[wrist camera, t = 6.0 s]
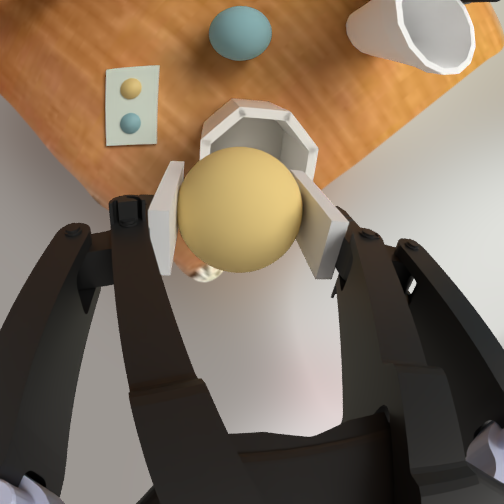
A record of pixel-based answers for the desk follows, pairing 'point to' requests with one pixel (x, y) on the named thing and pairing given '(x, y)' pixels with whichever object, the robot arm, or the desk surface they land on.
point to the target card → (132, 105)
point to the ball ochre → (239, 209)
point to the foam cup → (415, 33)
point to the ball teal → (240, 33)
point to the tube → (260, 133)
